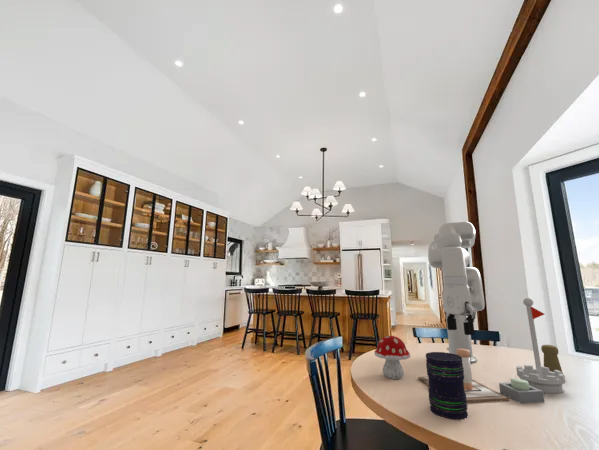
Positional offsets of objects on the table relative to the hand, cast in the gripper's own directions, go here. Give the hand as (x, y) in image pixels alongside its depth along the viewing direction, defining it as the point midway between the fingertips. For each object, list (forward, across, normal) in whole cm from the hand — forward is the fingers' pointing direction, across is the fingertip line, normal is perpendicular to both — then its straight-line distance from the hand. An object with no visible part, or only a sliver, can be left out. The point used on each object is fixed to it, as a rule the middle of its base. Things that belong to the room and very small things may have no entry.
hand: (460, 332), depth 101 cm
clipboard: (+19, -2, -1) cm, 19 cm away
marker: (+18, 0, 0) cm, 18 cm away
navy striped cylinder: (+19, +14, -15) cm, 28 cm away
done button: (+18, +7, +14) cm, 24 cm away
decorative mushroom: (+19, -17, -18) cm, 32 cm away
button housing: (+19, +7, +14) cm, 24 cm away
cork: (+19, -11, +44) cm, 49 cm away
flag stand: (+19, 0, +28) cm, 34 cm away
